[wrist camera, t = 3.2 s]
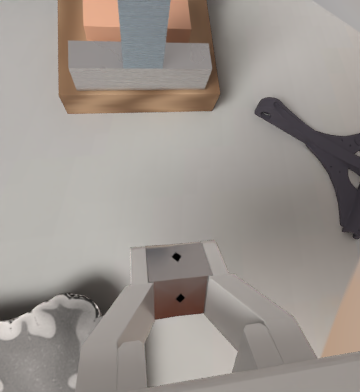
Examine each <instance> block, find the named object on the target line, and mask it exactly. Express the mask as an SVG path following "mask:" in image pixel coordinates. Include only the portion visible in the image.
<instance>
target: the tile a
mask: <svg viewBox="0 0 360 392" xmlns="http://www.w3.org/2000/svg"><path fill="white" fill-rule="evenodd" d="M83 26H84V30H85V34H86V38H87V41H116V42H121V35H120V23H119V12H118V0H83Z"/></svg>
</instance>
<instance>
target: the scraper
mask: <svg viewBox="0 0 360 392" xmlns="http://www.w3.org/2000/svg"><path fill="white" fill-rule="evenodd" d="M170 2H171V0H118V12H119V23H120V35H121V42H116V41H68V68H69V71H70V74H71V76H72V79H73V82H74V84H75V87H76V90H77V91H98V90H204V89H205V87H206V84H207V82H208V79H209V76H210V74H211V71H212V64H211V57H210V50H209V43H166V36H167V27H168V19H169V10H170Z"/></svg>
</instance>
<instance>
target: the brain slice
mask: <svg viewBox="0 0 360 392" xmlns="http://www.w3.org/2000/svg"><path fill="white" fill-rule="evenodd" d="M102 318H103V316H102V314H101V311H100V309H99V308H98V306H97V305H96V303H95V302H93V301H92V300H91V299H89V298H88V297H86V296H84V295H78V294H72V293H63V294H59V295H56V296H55V297H53V298H52V299H51V300H48V301H45V302H42V303H41V304H39V305H37V306H36V307H35V308H34V309H33V310H31V311H29V312H27V313H25V314H23V315H21V316H18V317H16V318H13V319H9V320H0V392H75V388H76V381H77V374H78V367H79V360H80V352H81V347H82V345H83V344H84V343H85V341H86V340H87V338H88V337H89V336H90V334H91V333H92V332H93V330H94V329H95V327H96V326H97V325H98V323H99V322H100V321H101V319H102Z"/></svg>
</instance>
